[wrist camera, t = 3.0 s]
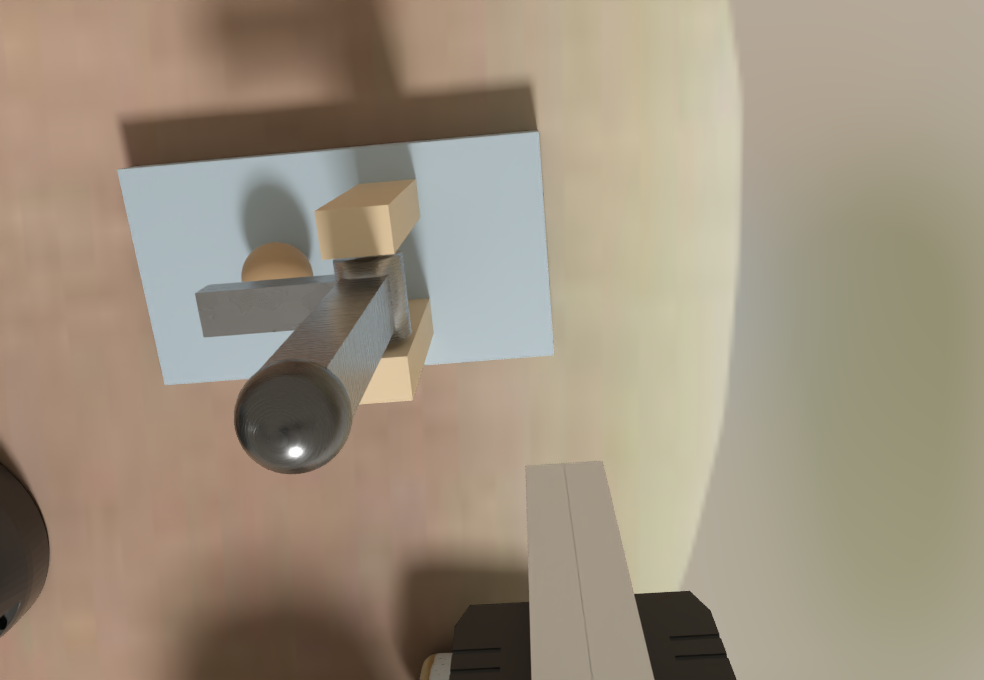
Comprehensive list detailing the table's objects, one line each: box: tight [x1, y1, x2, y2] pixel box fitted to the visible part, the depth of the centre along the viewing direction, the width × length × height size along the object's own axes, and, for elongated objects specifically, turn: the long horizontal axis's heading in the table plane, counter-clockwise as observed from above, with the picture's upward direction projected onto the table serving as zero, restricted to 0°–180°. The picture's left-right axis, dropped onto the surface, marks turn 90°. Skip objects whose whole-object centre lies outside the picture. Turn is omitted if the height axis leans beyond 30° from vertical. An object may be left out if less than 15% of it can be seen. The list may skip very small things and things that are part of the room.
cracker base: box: [117, 130, 554, 404], centre depth 39 cm, size 22×12×12 cm, turn 95°
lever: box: [195, 251, 412, 474], centre depth 29 cm, size 9×4×17 cm, turn 95°
